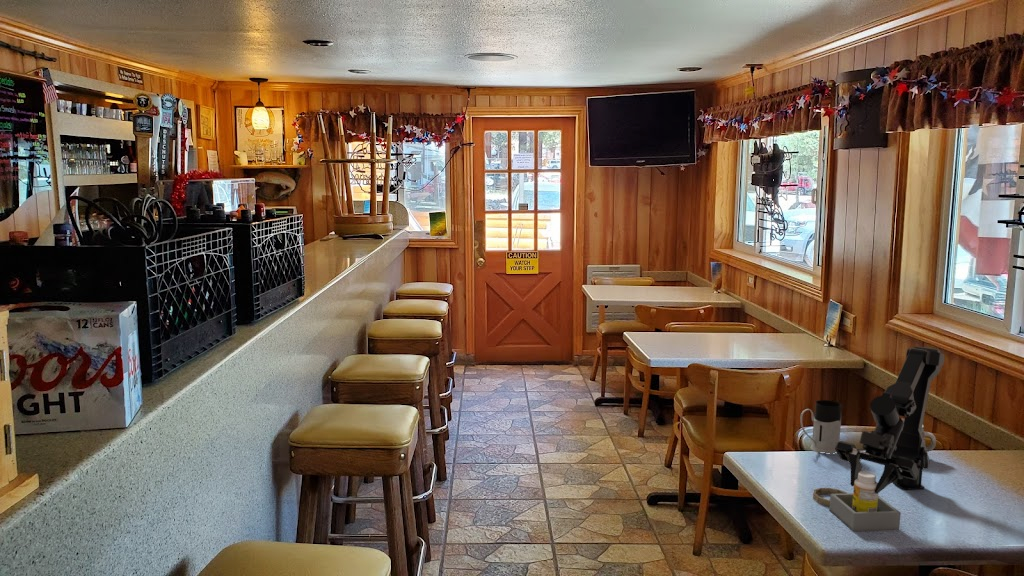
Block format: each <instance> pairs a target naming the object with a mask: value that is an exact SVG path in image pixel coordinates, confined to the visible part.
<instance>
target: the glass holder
mask: <svg viewBox="0 0 1024 576" xmlns="http://www.w3.org/2000/svg"><path fill="white" fill-rule="evenodd" d="M814 405H815V406H814V408H815V409H814V412H813V410H811V408H806V409H804V410H802V412H801V413H800V419H799V420H800V427H801V430H802V432H803V433H804V435H806V437H808V438H809V440H811V441H812V442H811V446H810V450H811V451H813V452H815V453H818V452H825V453H830V454H833V453H835V452H836V450H835V447H836V444H837V443H838V442H840V441H841V427H842V405H843V404H842V403H840V402H838V401H834V400H829V399H828V400H827V399H824V400H823V399H820V400H818V399H817V400H816V401H815V404H814ZM807 411H810V413H811V421H812V422H813V425H812V427H813V428H812V437H811V436H810V435H809V434H808V433H807V431H806V430H805V428H804V424H803V417H804V416H803V415H804V413H805V412H807Z"/></svg>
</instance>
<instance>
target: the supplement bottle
mask: <svg viewBox="0 0 1024 576" xmlns="http://www.w3.org/2000/svg"><path fill="white" fill-rule="evenodd" d="M877 484H878V482H877V475H876V474H875V473H873V472H871V471H867V470H866V471H865V470H864V471H862V470H861V472H859V473H858V479H856V480H855V481H854V486H853V492H852V493H853V506H852V509H853V510H854V511H855V512H877V504H878V496H879V493H878V494H876V493H875V489H876V486H877Z"/></svg>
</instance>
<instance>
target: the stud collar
mask: <svg viewBox="0 0 1024 576" xmlns="http://www.w3.org/2000/svg"><path fill="white" fill-rule="evenodd" d="M846 493H848V492H846V491H843V490H841V489H839V488H838V489H837V488H832V487H818V488H816V489H814V490H813V494H812V499H813V500H814V501H815V502H816V503H818V504H820V505H823V506H825V507H829V508H830V499H826V498H824V497H821V496H820V495H831V494H846Z"/></svg>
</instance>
